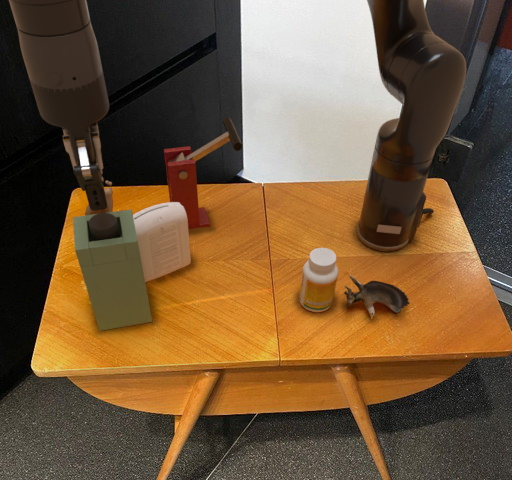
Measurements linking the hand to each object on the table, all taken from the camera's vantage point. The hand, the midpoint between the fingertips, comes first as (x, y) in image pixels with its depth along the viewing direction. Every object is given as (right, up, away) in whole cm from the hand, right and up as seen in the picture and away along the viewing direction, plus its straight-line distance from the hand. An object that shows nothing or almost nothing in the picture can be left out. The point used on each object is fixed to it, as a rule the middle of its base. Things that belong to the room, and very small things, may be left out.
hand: (98, 206), depth 70 cm
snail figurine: (-5, -2, +24) cm, 25 cm away
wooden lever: (+12, +13, +20) cm, 27 cm away
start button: (0, -4, +4) cm, 6 cm away
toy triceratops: (+39, -12, +17) cm, 44 cm away
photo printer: (+5, -5, +21) cm, 23 cm away
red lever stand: (+7, +4, +29) cm, 30 cm away
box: (0, -13, +15) cm, 20 cm away
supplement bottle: (+30, -11, +17) cm, 36 cm away
